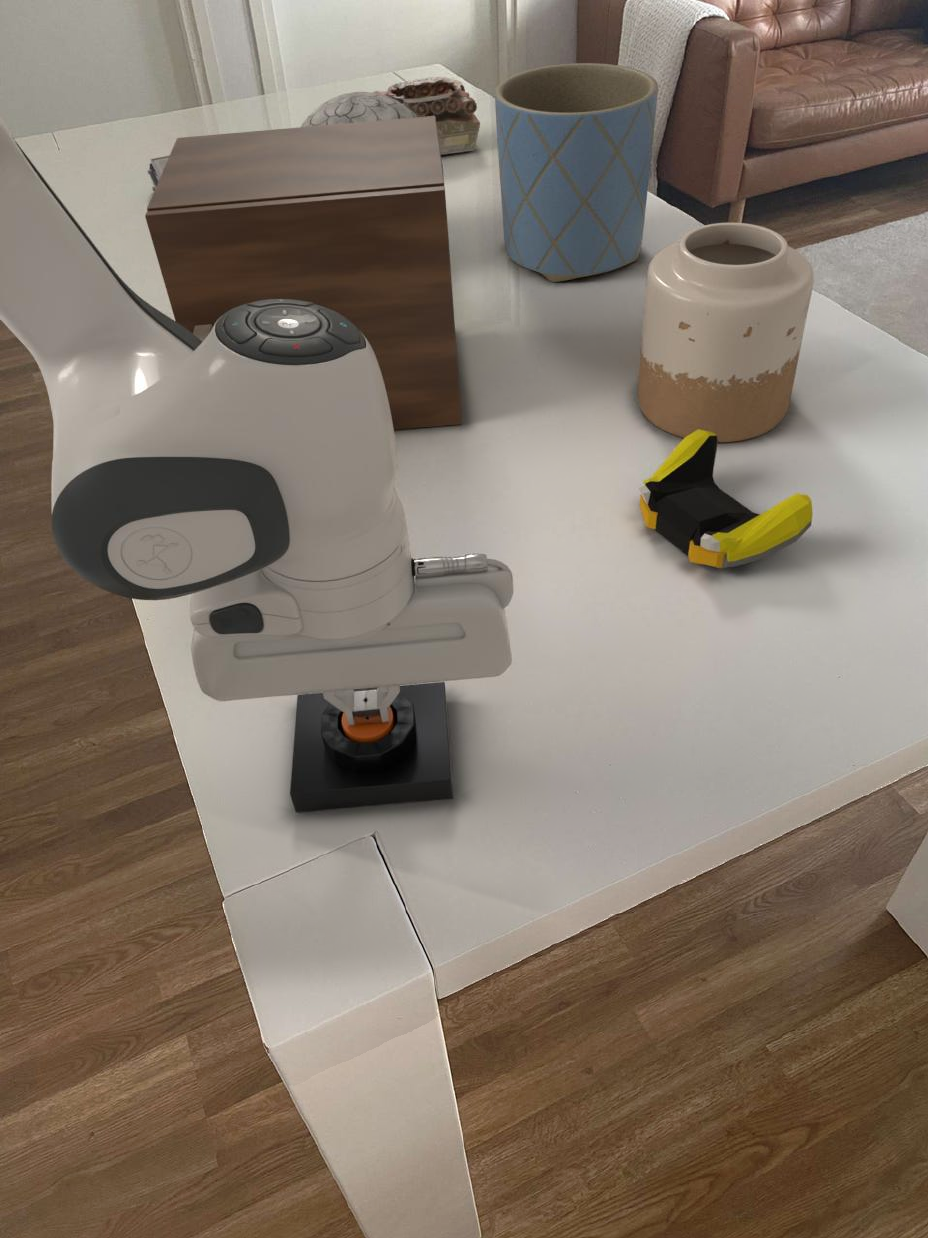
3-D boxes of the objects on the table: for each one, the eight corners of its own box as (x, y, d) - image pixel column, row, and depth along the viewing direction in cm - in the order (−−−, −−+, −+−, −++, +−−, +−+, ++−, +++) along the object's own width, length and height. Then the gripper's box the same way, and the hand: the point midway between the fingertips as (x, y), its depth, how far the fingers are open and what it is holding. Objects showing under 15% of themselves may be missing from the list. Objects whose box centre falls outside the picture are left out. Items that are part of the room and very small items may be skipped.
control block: (295, 812, 67) (284, 778, 65) (302, 713, 74) (292, 678, 71) (453, 798, 68) (449, 763, 65) (446, 700, 74) (442, 665, 71)
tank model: (487, 164, 152) (484, 96, 146) (360, 179, 151) (351, 112, 144) (474, 136, 162) (471, 71, 155) (354, 150, 161) (346, 85, 154)
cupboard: (461, 418, 101) (444, 182, 85) (212, 440, 101) (146, 208, 85) (451, 334, 114) (435, 115, 98) (231, 353, 114) (177, 137, 97)
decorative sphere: (354, 218, 140) (332, 64, 126) (475, 238, 133) (466, 77, 119) (272, 276, 128) (239, 113, 114) (400, 302, 121) (381, 131, 107)
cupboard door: (465, 456, 96) (448, 216, 80) (203, 478, 96) (132, 243, 80) (461, 418, 101) (444, 185, 85) (212, 440, 101) (146, 210, 85)
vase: (796, 374, 104) (828, 216, 92) (778, 454, 94) (811, 289, 82) (654, 356, 108) (667, 204, 96) (621, 431, 98) (632, 271, 86)
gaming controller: (697, 467, 93) (613, 505, 90) (704, 418, 89) (616, 456, 86) (815, 551, 83) (726, 597, 80) (828, 500, 80) (735, 545, 76)
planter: (675, 262, 124) (691, 91, 110) (543, 299, 119) (543, 125, 105) (597, 211, 137) (603, 53, 123) (475, 243, 132) (467, 81, 118)
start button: (344, 755, 68) (340, 739, 66) (345, 715, 70) (342, 700, 69) (395, 750, 68) (393, 735, 66) (395, 711, 70) (392, 695, 69)
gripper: (506, 519, 60) (513, 670, 70) (178, 549, 60) (230, 695, 70) (517, 588, 56) (522, 738, 65) (162, 620, 56) (219, 766, 65)
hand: (369, 716), depth 68 cm, fingers closed, pressing on start button
